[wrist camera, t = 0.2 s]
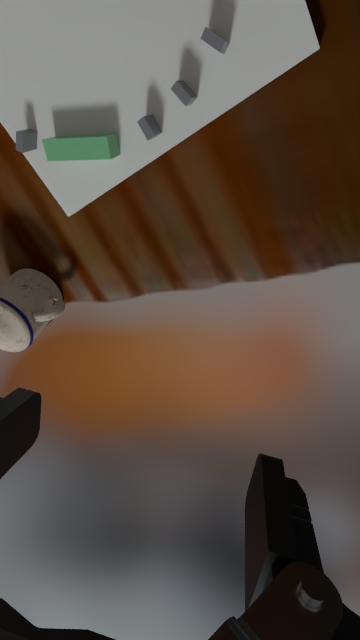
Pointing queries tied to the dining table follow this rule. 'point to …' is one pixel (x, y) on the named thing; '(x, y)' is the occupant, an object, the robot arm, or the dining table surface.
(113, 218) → the dining table surface
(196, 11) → the dial board
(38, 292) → the teacup with lid
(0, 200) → the dining table surface
